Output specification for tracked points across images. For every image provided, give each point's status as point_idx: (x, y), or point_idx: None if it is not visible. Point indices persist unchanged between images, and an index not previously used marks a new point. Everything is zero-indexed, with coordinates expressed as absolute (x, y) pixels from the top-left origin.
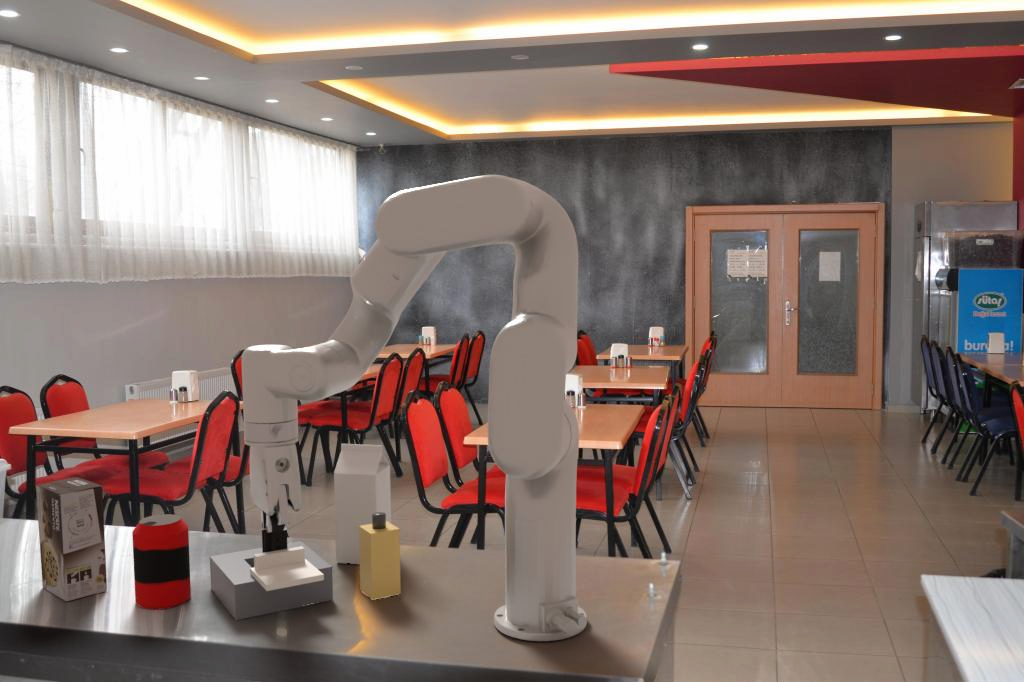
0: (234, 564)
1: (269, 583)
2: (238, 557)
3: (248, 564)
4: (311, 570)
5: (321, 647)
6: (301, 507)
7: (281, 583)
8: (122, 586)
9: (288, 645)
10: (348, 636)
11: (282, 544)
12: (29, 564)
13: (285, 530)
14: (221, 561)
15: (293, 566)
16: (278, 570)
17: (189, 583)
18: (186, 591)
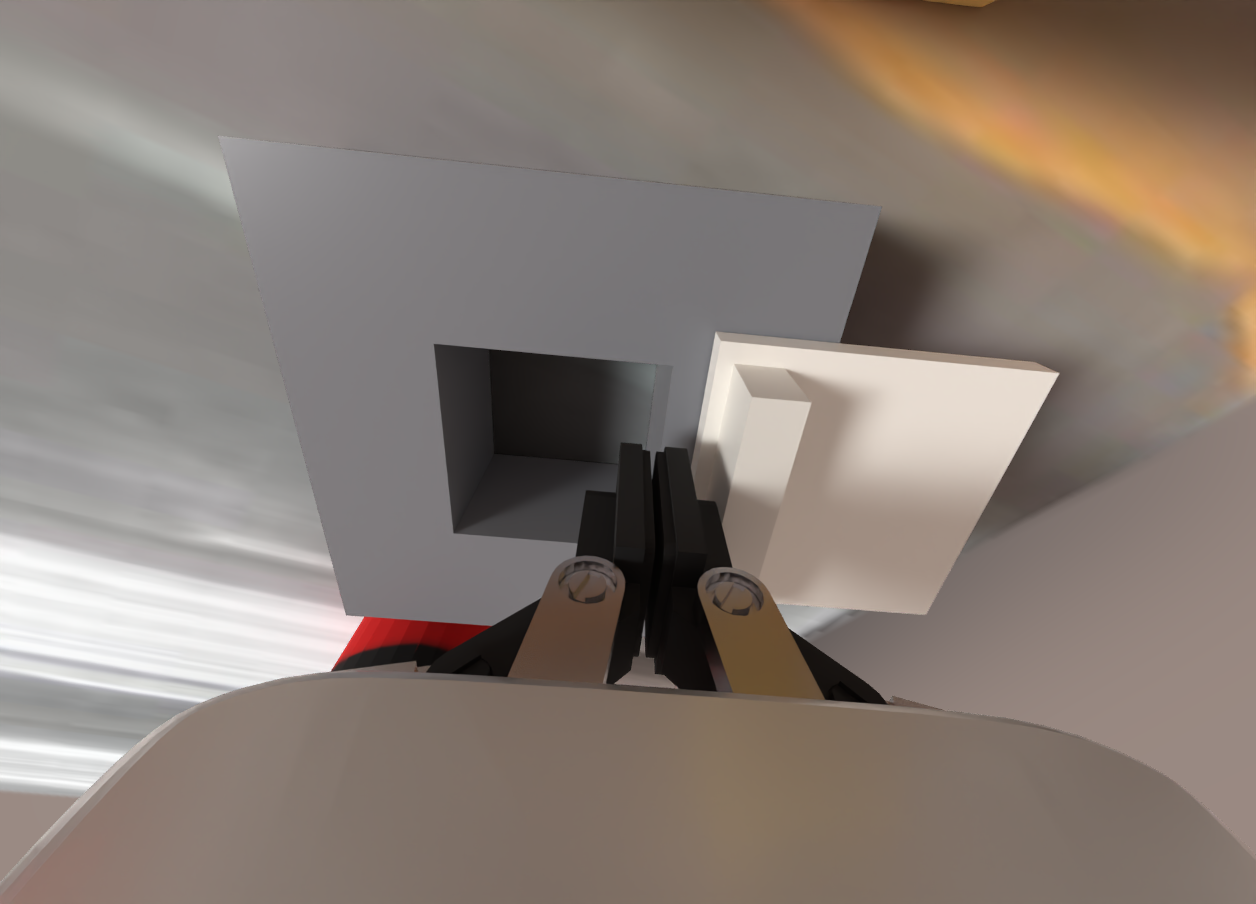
0: (506, 580)
1: (915, 600)
2: (413, 541)
3: (538, 541)
4: (941, 399)
5: (1130, 439)
6: (1179, 786)
7: (951, 563)
8: (279, 676)
9: (1017, 505)
10: (1164, 328)
11: (719, 528)
12: (27, 769)
13: (733, 573)
14: (438, 603)
15: (802, 447)
16: (800, 523)
17: (457, 631)
18: (483, 628)
